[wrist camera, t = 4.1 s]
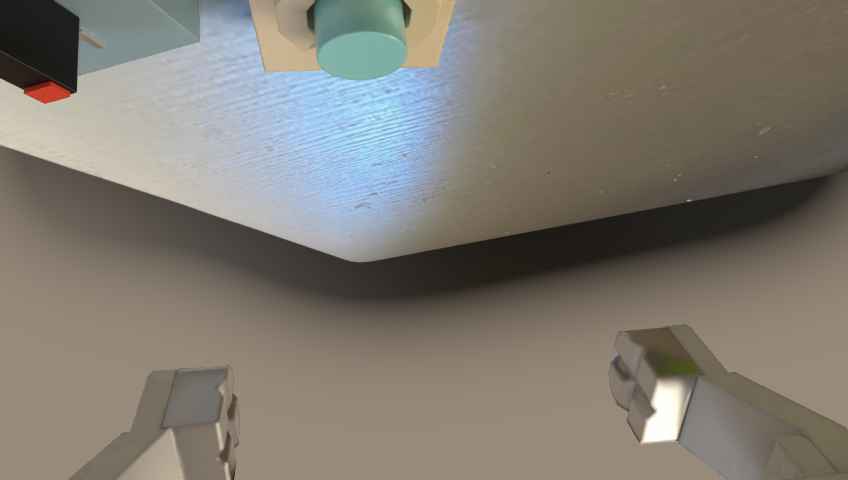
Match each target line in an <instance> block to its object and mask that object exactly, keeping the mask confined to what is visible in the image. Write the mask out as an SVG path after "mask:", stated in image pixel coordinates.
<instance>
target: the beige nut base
mask: <svg viewBox="0 0 848 480" xmlns="http://www.w3.org/2000/svg"><path fill="white" fill-rule="evenodd" d="M248 1H249V5H250V10H251V14H252V18H253V23H254V27H255V32H256V36H257V40H258V45H259V49H260V54H261V58H262V63H263V67H264V70H265V71H266V72H275V71H312V70H323V69H322V68H321V67H320V66H319V64H318V62H317V59H316V45H315V30H314V14H313V11H314V6H315V4H316V2H317V0H248ZM400 1H401V3H402V5H403V13H404V23H405V32H406V42H407V52H408V54H407V58H406V61H405V63H404V64H403V65H402V66H401V67H400V68H424V67H437V66H438V63H439V59H440V55H441V52H442V48H443V44H444V41H445V37H446V33H447V30H448V26H449V22H450V19H451V15H452V12H453V8H454V4H455V1H456V0H400Z"/></svg>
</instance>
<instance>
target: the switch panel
mask: <svg viewBox="0 0 848 480" xmlns="http://www.w3.org/2000/svg"><path fill="white" fill-rule="evenodd" d="M54 1H56V2H57V3H59V4H60V5H62V6H63V7H64V8H66V9H67V10H69V11H70V12H72V13H73V14H75V15H76V16H78V17H79V18H80V23H79V49H78V75H77V76H80V75H84V74H87V73H91V72H94V71H98V70H101V69H105V68H108V67H112V66H115V65H119V64H122V63H126V62H129V61H133V60H137V59H140V58H144V57H147V56H151V55H154V54H158V53H161V52H165V51H168V50H172V49H175V48H179V47H182V46H186V45H189V44H193V43H196V42H199V41H200V16H199V0H54Z"/></svg>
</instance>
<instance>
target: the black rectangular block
mask: <svg viewBox="0 0 848 480" xmlns="http://www.w3.org/2000/svg"><path fill="white" fill-rule="evenodd" d="M79 23H80V18H79V17H78V16H76V15H75V14H73V13H72V12H70V11H69V10H67V9H66V8H64V7H63V6H62V5H60V4H59V3H57V2H56V1H54V0H0V78H1V79H3V80H5V81H7V82H9V83H11V84H13V85H15V86H17V87H19V88H21V89H23V90H24V94H26V95H28V96H30V97H32V98H34V99H36V100H38V101H40V102H42V103H44V104H46V103H49V102H53V101H57V100H60V99H64V98H68V97H70V94H73V93H76V92H77V75H78V49H79Z"/></svg>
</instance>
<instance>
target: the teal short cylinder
mask: <svg viewBox="0 0 848 480" xmlns="http://www.w3.org/2000/svg"><path fill="white" fill-rule="evenodd" d="M313 14H314V30H315V45H316V59H317V62H318V64H319V66H320V67H321V68H322V69H323V70H324V71H325V72H327V73H329V74H331V75H333V76H335V77H339V78H343V79H349V80H369V79H375V78H379V77H383V76H386V75H388V74H391V73H393V72H394V71H396V70H397V69H399V68H400V67H401V66H402V65H403V64H404V63H405V61H406V58H407V54H408V52H407V42H406V32H405V23H404V13H403V5H402V3H401V1H400V0H317V2H316V4H315V6H314V11H313Z"/></svg>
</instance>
